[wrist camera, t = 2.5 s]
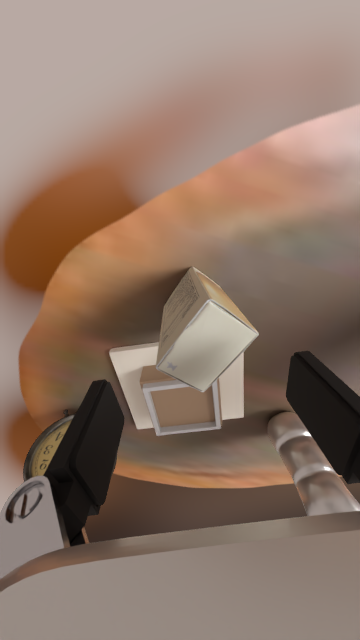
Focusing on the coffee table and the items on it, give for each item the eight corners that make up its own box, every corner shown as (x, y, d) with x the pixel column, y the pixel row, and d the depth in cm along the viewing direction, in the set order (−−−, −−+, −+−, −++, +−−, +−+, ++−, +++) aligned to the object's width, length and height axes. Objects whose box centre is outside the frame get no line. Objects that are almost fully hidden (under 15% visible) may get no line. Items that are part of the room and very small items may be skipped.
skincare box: (190, 323, 25) (201, 397, 14) (162, 306, 24) (151, 372, 13) (222, 283, 23) (263, 335, 12) (192, 262, 22) (209, 298, 11)
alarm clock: (127, 409, 32) (86, 562, 17) (125, 430, 34) (87, 580, 20) (59, 401, 31) (-45, 556, 16) (61, 423, 33) (-28, 577, 19)
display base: (241, 331, 26) (254, 351, 22) (241, 412, 33) (251, 440, 28) (111, 348, 27) (98, 371, 22) (138, 423, 34) (132, 452, 29)
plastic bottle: (255, 425, 34) (342, 644, 16) (280, 401, 32) (415, 628, 14) (283, 435, 36) (392, 647, 18) (309, 412, 33) (467, 633, 15)
